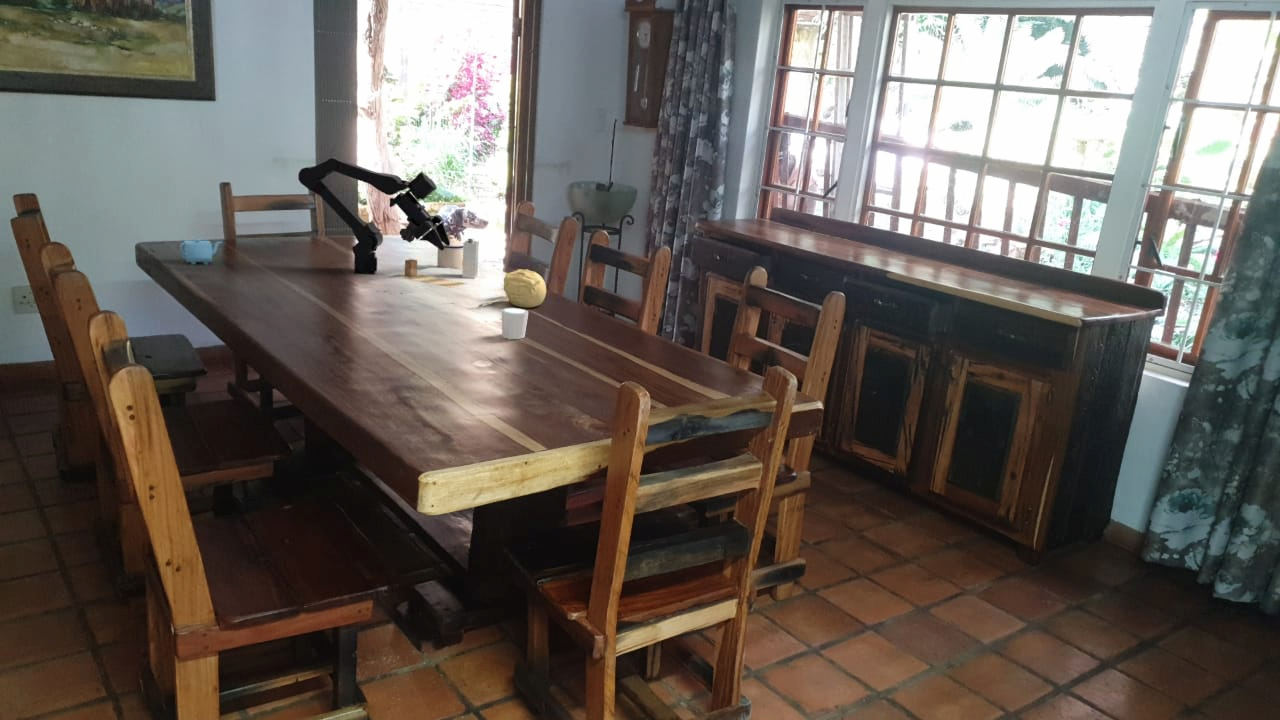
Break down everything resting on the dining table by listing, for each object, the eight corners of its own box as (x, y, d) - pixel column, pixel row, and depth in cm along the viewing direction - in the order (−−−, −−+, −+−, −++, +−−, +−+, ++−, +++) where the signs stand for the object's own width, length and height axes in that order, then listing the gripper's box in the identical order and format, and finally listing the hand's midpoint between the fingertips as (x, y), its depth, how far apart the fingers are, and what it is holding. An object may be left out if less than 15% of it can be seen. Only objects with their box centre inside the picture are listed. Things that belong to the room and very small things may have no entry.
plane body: (395, 281, 288) (396, 260, 286) (412, 277, 296) (412, 257, 294) (452, 292, 280) (453, 271, 279) (468, 288, 288) (468, 267, 286)
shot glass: (505, 341, 234) (506, 314, 232) (496, 333, 240) (497, 307, 238) (530, 340, 237) (532, 313, 235) (521, 332, 243) (522, 306, 241)
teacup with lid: (468, 272, 312) (470, 237, 309) (443, 273, 307) (445, 238, 303) (452, 265, 321) (453, 231, 318) (428, 266, 316) (429, 232, 312)
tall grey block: (462, 280, 296) (463, 239, 292) (464, 277, 300) (466, 237, 297) (474, 281, 296) (476, 240, 292) (477, 278, 301) (478, 238, 297)
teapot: (221, 260, 294) (220, 237, 292) (224, 264, 290) (223, 240, 287) (179, 261, 288) (178, 237, 286) (181, 265, 283) (180, 240, 281)
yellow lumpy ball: (497, 305, 270) (498, 268, 267) (519, 298, 281) (521, 263, 278) (530, 312, 266) (532, 275, 263) (552, 305, 276) (554, 269, 273)
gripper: (401, 221, 302) (433, 258, 306) (386, 229, 284) (421, 268, 288) (426, 199, 300) (458, 236, 304) (413, 206, 282) (447, 246, 286)
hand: (446, 247), depth 295 cm, fingers open, 9 cm apart
